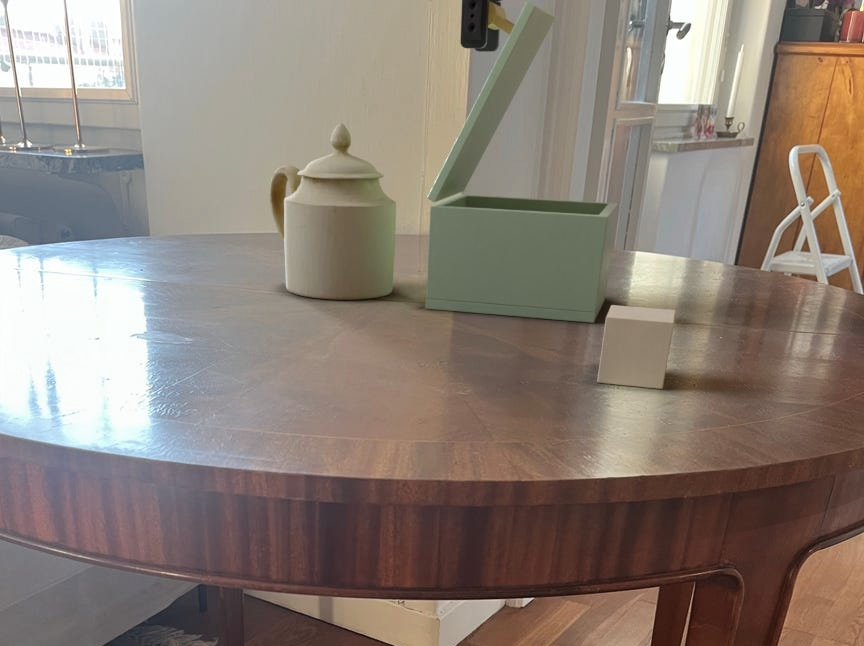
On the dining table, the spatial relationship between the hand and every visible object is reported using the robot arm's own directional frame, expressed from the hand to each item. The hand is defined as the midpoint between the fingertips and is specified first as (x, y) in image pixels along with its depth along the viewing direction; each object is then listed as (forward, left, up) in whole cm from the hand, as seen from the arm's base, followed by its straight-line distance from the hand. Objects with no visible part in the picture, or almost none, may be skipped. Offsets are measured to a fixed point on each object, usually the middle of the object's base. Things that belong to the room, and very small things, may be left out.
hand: (480, 48), depth 84 cm
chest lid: (-2, +1, -5) cm, 5 cm away
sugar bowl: (+14, -5, -21) cm, 26 cm away
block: (-7, +30, -21) cm, 38 cm away
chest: (-5, +2, -21) cm, 22 cm away
